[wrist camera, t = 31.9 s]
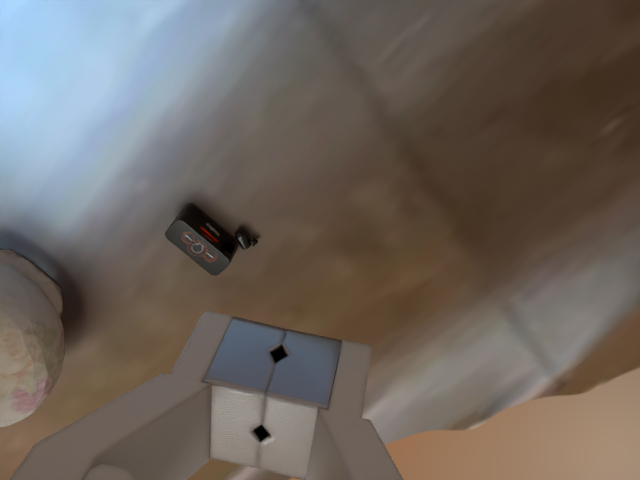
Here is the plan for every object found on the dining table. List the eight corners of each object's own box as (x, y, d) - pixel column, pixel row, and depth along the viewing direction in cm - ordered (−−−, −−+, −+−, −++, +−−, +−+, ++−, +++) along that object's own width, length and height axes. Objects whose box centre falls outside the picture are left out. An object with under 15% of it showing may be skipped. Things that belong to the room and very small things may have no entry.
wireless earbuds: (231, 263, 60) (221, 282, 57) (175, 217, 58) (162, 234, 55) (260, 238, 57) (251, 256, 55) (203, 189, 56) (190, 205, 53)
